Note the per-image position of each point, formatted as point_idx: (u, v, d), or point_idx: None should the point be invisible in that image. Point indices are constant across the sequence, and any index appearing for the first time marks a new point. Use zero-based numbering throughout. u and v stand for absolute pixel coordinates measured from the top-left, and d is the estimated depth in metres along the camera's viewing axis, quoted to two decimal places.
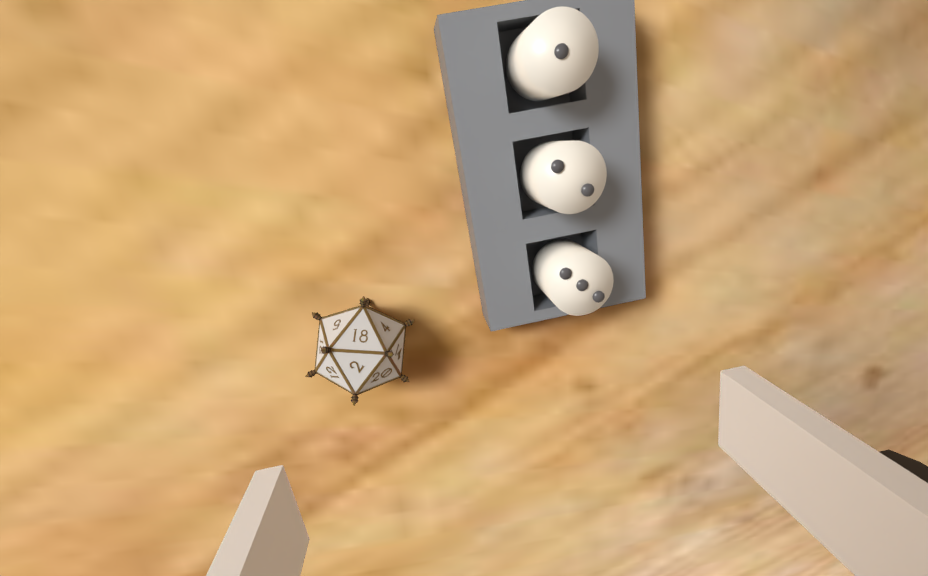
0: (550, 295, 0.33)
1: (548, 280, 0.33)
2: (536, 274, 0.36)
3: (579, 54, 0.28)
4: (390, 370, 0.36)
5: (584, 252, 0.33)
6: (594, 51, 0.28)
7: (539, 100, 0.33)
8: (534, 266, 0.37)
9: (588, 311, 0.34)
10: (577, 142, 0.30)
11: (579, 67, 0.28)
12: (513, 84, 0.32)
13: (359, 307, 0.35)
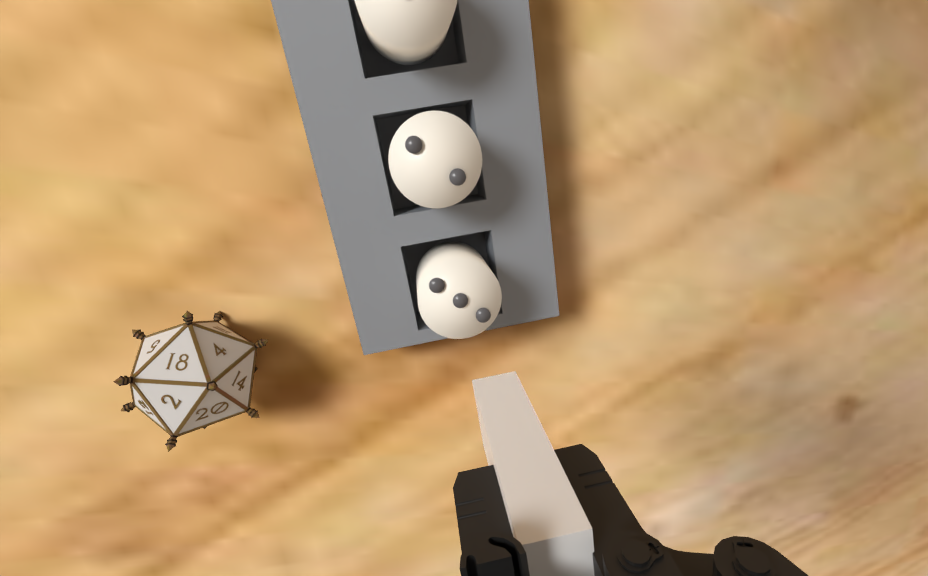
0: None
1: None
2: None
3: None
4: (227, 405, 0.28)
5: (461, 258, 0.25)
6: None
7: (407, 63, 0.26)
8: (416, 275, 0.30)
9: (471, 333, 0.27)
10: (439, 113, 0.23)
11: (432, 11, 0.21)
12: (370, 41, 0.25)
13: (184, 324, 0.27)
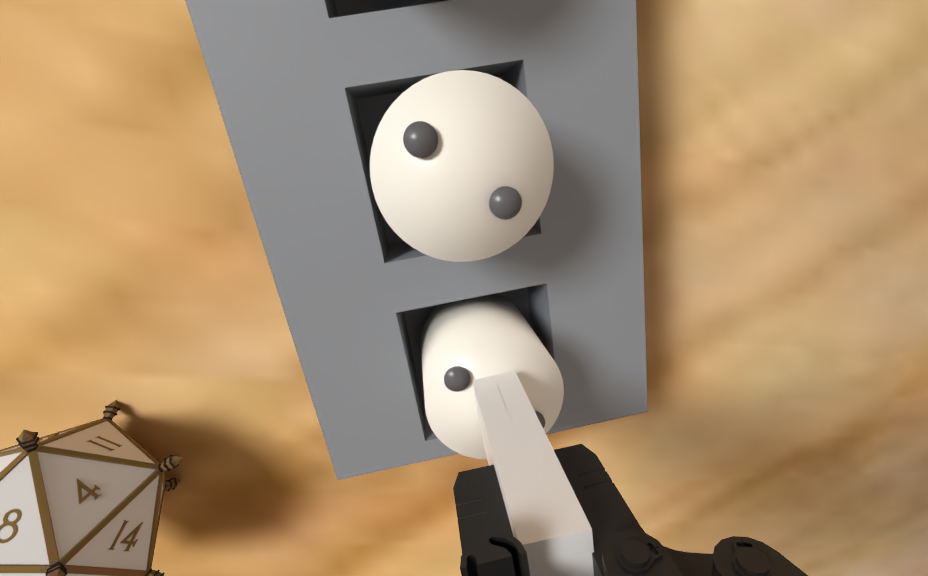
0: None
1: (425, 389, 0.16)
2: None
3: None
4: None
5: (498, 334, 0.15)
6: None
7: None
8: (421, 342, 0.19)
9: None
10: (472, 76, 0.11)
11: None
12: None
13: (23, 450, 0.16)
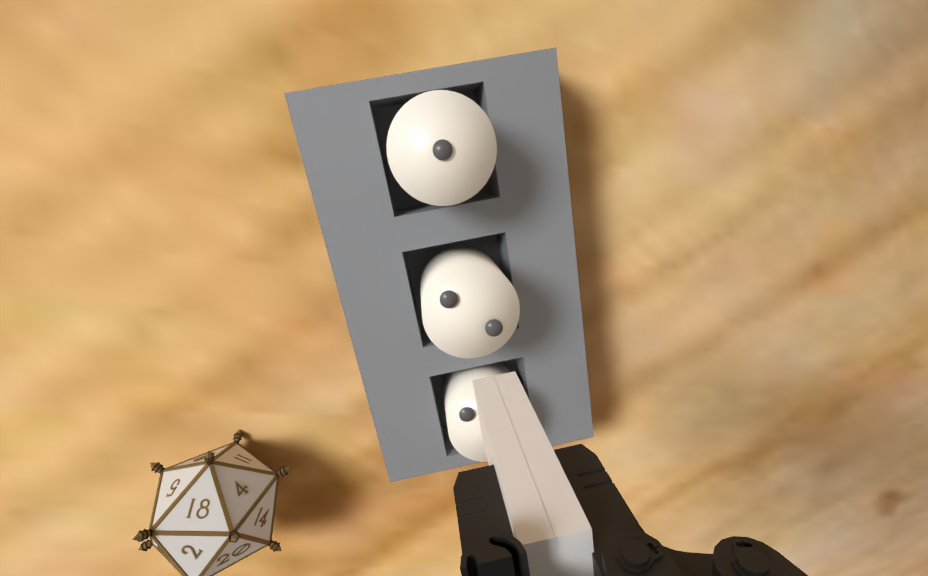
0: (450, 438, 0.26)
1: (447, 419, 0.26)
2: None
3: (469, 153, 0.20)
4: (248, 545, 0.27)
5: None
6: (491, 149, 0.20)
7: None
8: (443, 387, 0.30)
9: None
10: (475, 267, 0.22)
11: (470, 170, 0.20)
12: None
13: (205, 463, 0.26)
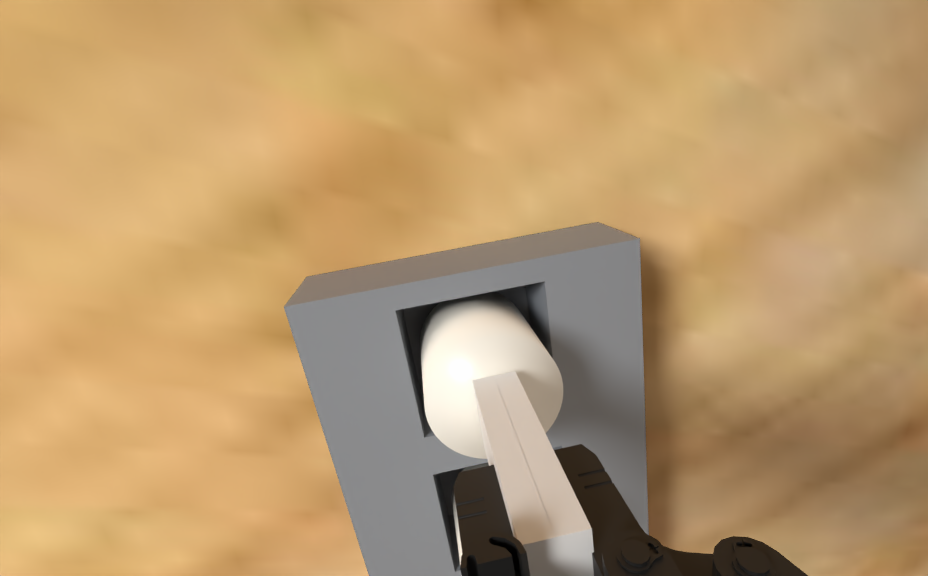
0: None
1: None
2: None
3: None
4: None
5: None
6: (555, 394, 0.16)
7: None
8: None
9: None
10: None
11: None
12: None
13: None
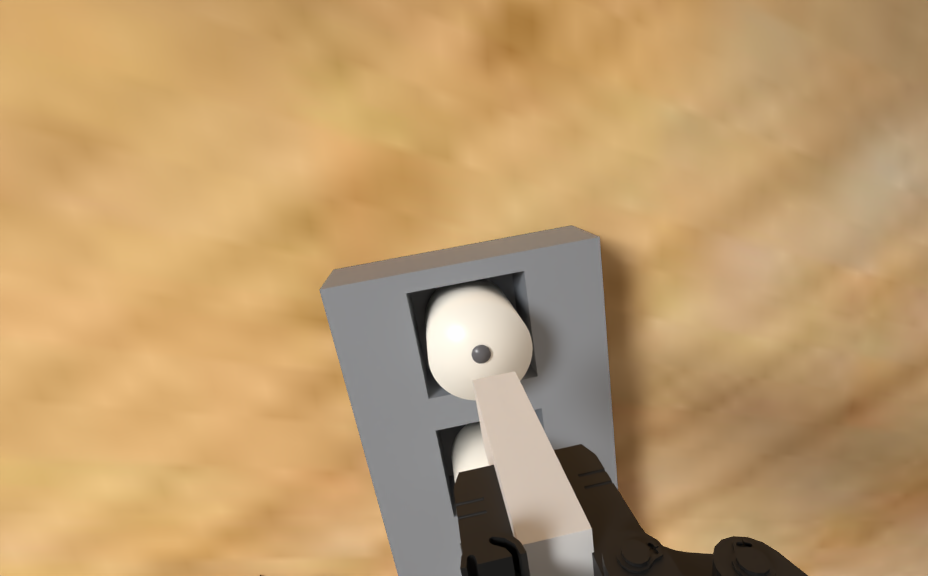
0: None
1: None
2: None
3: (506, 355, 0.21)
4: None
5: None
6: (526, 350, 0.21)
7: None
8: None
9: None
10: None
11: (506, 369, 0.21)
12: None
13: None
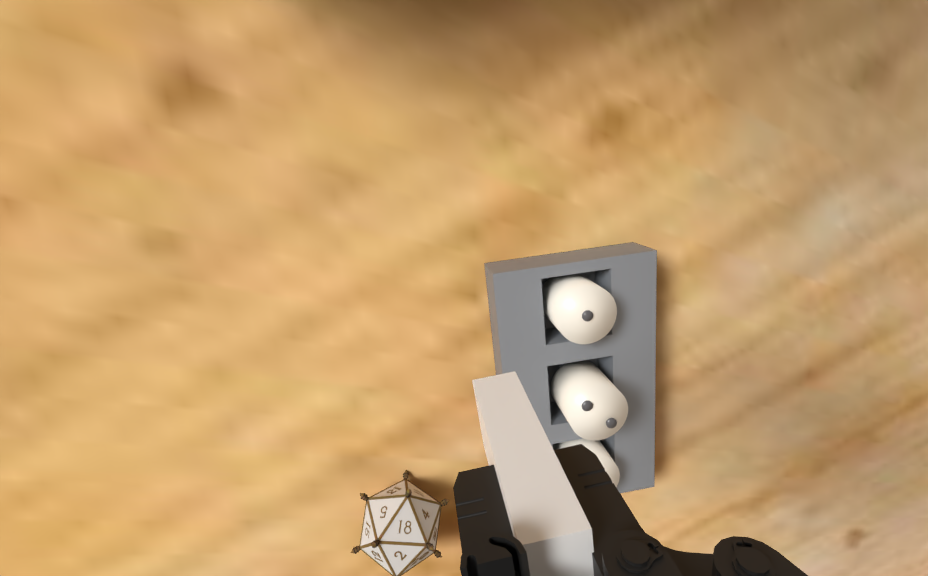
0: None
1: None
2: None
3: (601, 317, 0.35)
4: (427, 552, 0.40)
5: (596, 455, 0.39)
6: (613, 315, 0.36)
7: None
8: None
9: None
10: (605, 387, 0.35)
11: (600, 326, 0.36)
12: (545, 314, 0.39)
13: (404, 496, 0.39)
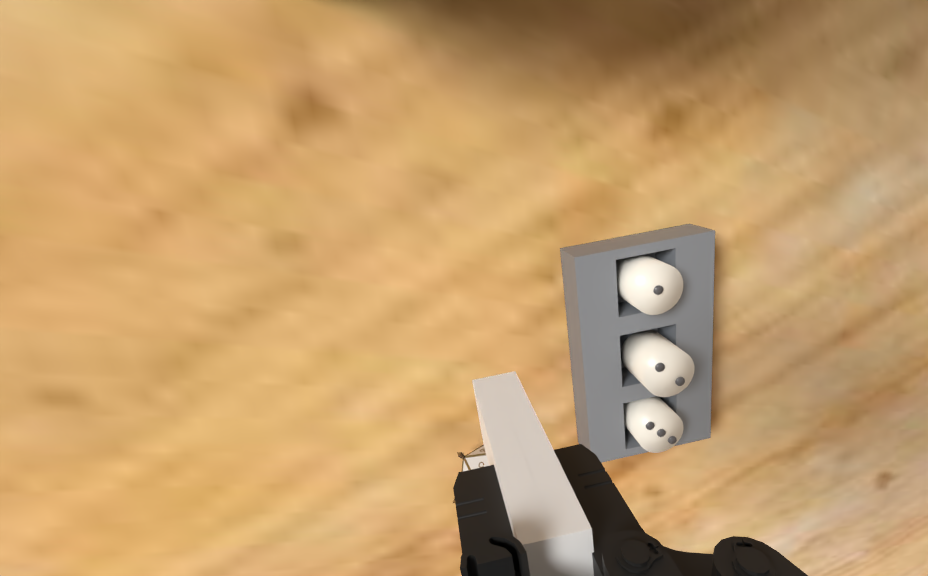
0: (637, 439, 0.46)
1: (636, 428, 0.46)
2: None
3: (669, 290, 0.41)
4: None
5: (664, 411, 0.45)
6: (680, 288, 0.41)
7: None
8: None
9: (664, 449, 0.47)
10: (675, 351, 0.41)
11: (669, 298, 0.41)
12: None
13: None
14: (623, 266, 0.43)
